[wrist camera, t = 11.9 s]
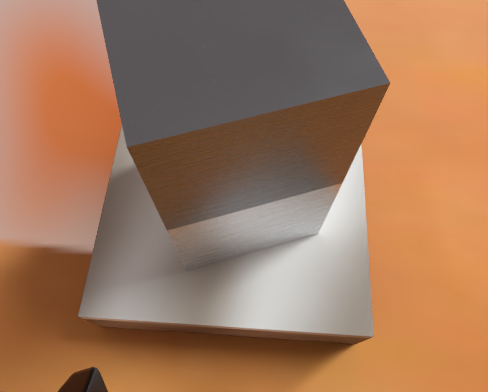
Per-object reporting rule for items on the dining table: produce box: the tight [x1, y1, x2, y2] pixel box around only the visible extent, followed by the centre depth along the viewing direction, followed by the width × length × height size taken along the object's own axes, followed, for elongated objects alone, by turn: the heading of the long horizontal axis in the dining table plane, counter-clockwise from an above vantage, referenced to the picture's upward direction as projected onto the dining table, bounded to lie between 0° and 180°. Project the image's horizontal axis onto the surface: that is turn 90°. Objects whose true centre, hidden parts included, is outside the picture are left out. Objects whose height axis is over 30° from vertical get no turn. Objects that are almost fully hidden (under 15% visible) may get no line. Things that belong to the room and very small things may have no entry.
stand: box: [78, 127, 374, 344], centre depth 21 cm, size 12×12×3 cm
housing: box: [97, 0, 390, 271], centre depth 15 cm, size 6×6×10 cm
